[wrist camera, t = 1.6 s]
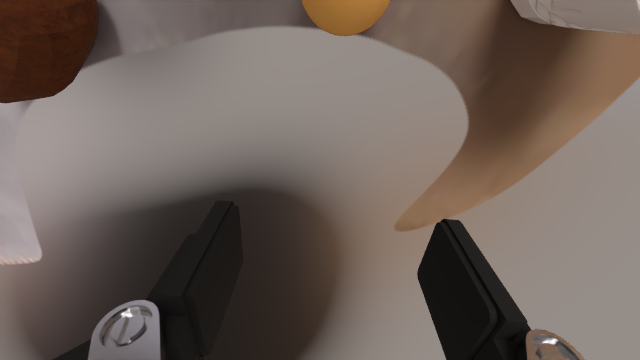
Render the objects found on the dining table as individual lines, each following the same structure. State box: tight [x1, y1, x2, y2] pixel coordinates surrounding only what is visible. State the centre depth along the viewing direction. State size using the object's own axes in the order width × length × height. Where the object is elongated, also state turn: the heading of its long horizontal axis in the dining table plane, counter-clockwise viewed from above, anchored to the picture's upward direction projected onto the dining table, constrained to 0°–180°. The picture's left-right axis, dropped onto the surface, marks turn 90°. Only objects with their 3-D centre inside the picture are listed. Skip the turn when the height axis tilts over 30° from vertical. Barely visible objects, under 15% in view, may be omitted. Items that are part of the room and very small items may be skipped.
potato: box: [0, 0, 98, 103], centre depth 18 cm, size 8×12×8 cm, turn 128°
